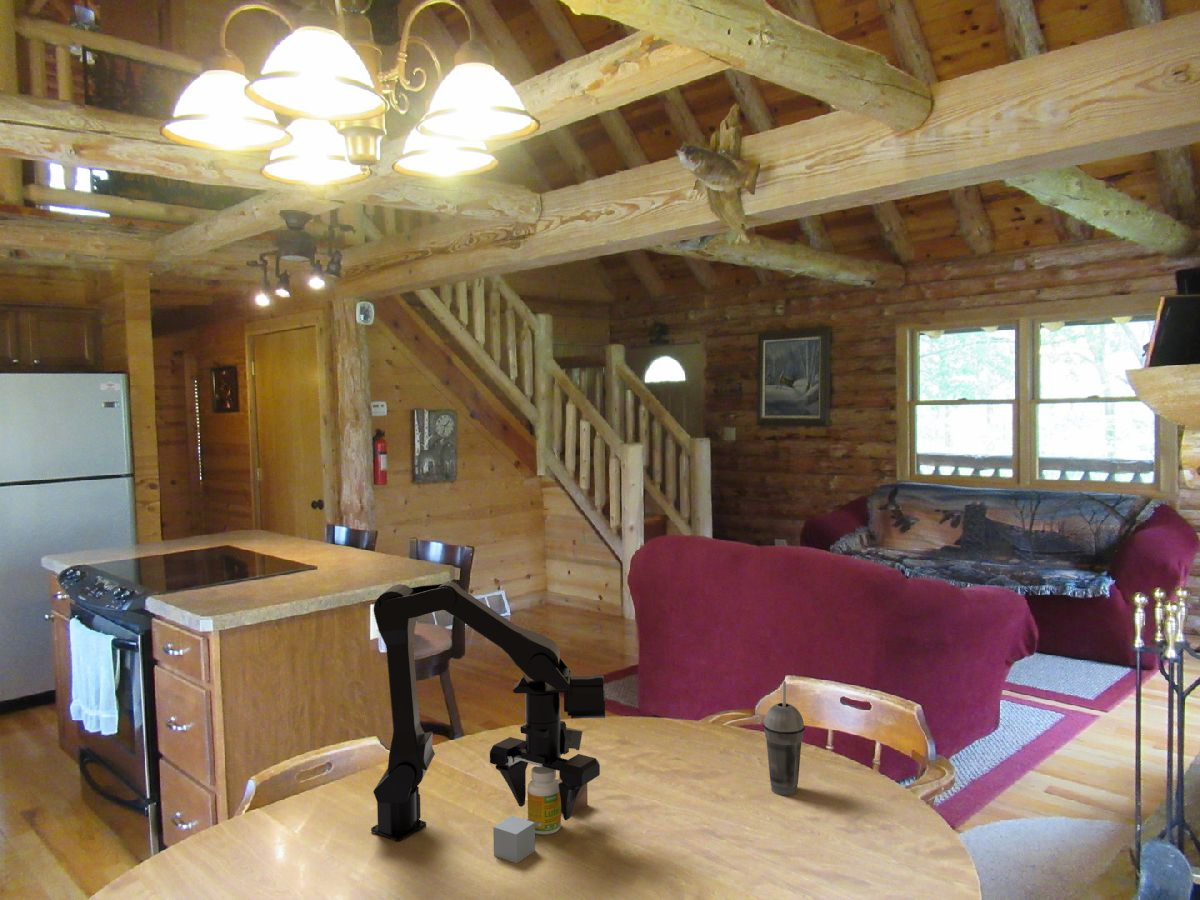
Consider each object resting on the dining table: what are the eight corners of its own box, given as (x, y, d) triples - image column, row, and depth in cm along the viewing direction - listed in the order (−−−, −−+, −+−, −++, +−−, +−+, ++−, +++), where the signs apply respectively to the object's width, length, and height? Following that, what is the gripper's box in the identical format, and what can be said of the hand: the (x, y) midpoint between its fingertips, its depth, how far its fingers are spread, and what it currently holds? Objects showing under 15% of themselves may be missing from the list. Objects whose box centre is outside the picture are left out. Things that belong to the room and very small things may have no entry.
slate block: (516, 863, 129) (516, 834, 129) (493, 855, 131) (493, 827, 131) (535, 851, 132) (534, 822, 132) (512, 843, 135) (511, 815, 135)
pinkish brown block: (572, 815, 144) (572, 788, 144) (551, 809, 147) (550, 783, 147) (587, 805, 148) (587, 779, 148) (566, 799, 151) (566, 773, 150)
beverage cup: (802, 782, 156) (801, 673, 156) (807, 799, 149) (807, 686, 148) (761, 781, 157) (761, 673, 156) (765, 798, 150) (764, 685, 149)
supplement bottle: (546, 839, 136) (545, 778, 136) (521, 829, 139) (520, 770, 139) (567, 826, 140) (566, 767, 140) (542, 817, 144) (542, 760, 143)
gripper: (617, 713, 141) (618, 807, 141) (528, 695, 151) (529, 782, 152) (579, 734, 132) (580, 834, 132) (486, 713, 142) (488, 806, 142)
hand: (544, 812), depth 140 cm, fingers open, 9 cm apart
